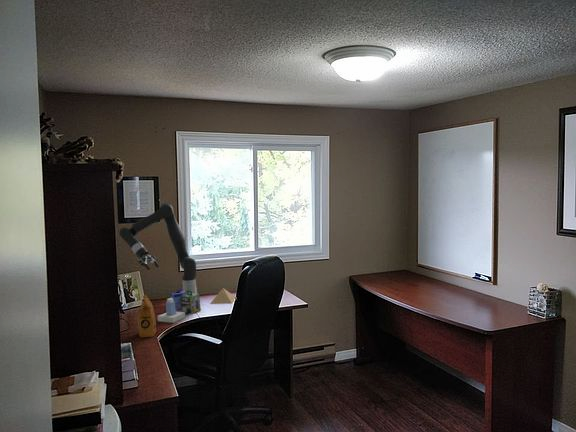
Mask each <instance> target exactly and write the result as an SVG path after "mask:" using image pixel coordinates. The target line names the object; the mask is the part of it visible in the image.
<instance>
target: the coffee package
mask: <svg viewBox="0 0 576 432" xmlns="http://www.w3.org/2000/svg"><path fill="white" fill-rule="evenodd" d="M142 297H143V299H141V305H140V306H139V308H138V309H139V310H138V317H137V326H138V333H139V337H140V338H141V339H142V338H150V337H154V336H155V335H156V333H157V323H156V314H155V310H154V306H153V303H152V301H151V300H150V299H149V298H148V296H147V294H144V295H143V296H142Z"/></svg>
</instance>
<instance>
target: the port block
mask: <svg viewBox="0 0 576 432" xmlns="http://www.w3.org/2000/svg"><path fill="white" fill-rule="evenodd" d="M185 318H186V313H185V312H182V311H177V312H176V314H175V315H173V316H169V315H167V313H166V312H165V313H162V314H159V315H157V322H158V323H166V324H167V323H169V324H174V323H177V322H180V321H181V320H184V319H185Z"/></svg>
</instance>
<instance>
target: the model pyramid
mask: <svg viewBox="0 0 576 432" xmlns="http://www.w3.org/2000/svg"><path fill="white" fill-rule="evenodd" d="M235 297H236V296H235V295H234V294H232V293H231V292H229V291H228V290H227V289H225V288H222V289H221V290H220V291H219V292H218V293H217V294H216V296H215V297H214V298H213V299H212V301H211V302H210V303H209V304H210V305H216V304H217V305H219V304H220V305H222V304H224V305H225V304H226V305H227V304H230V305H231V304H233V303H234V302H235V301H234V299H235ZM235 300H236V299H235Z"/></svg>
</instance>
